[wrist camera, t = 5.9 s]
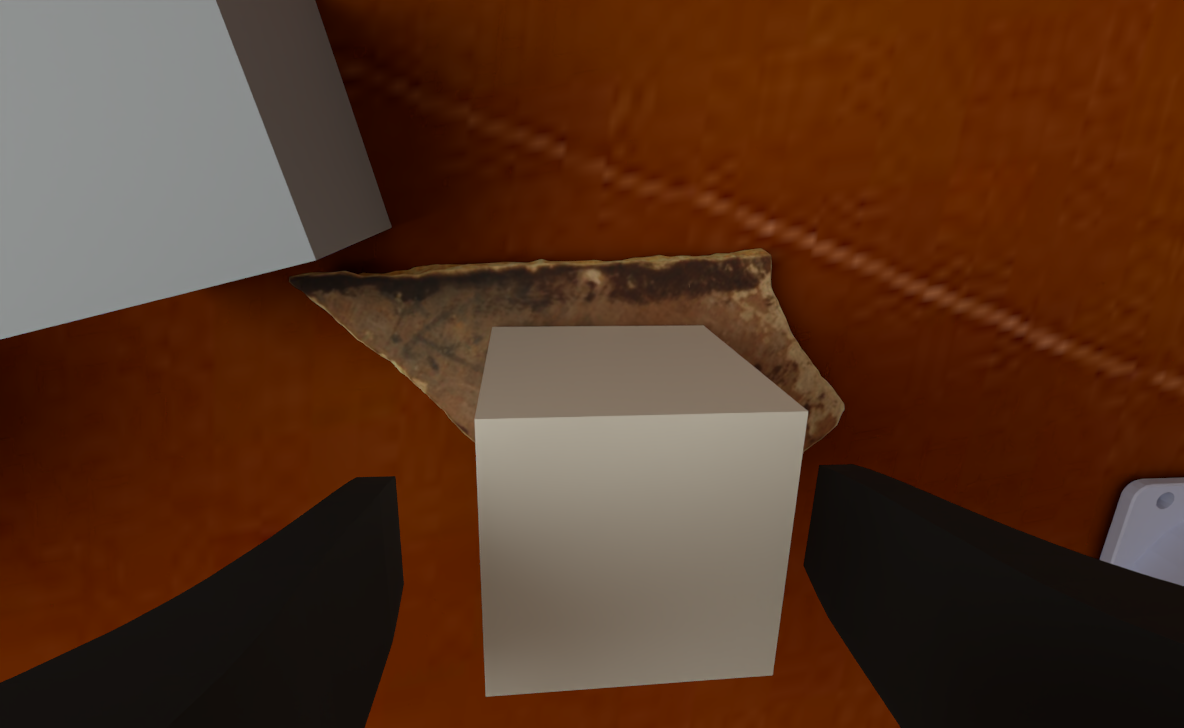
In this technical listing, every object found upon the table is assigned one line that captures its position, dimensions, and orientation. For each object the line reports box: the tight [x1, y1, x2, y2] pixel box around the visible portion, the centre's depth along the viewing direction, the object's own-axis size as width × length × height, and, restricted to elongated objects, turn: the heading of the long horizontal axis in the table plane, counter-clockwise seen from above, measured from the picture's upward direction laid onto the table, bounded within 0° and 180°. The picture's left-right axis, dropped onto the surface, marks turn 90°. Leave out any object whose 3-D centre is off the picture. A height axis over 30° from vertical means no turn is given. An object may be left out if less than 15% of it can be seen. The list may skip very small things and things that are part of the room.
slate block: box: [0, 0, 392, 339], centre depth 10 cm, size 4×4×5 cm
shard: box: [289, 248, 845, 452], centre depth 14 cm, size 11×8×2 cm
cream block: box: [474, 325, 808, 697], centre depth 11 cm, size 4×4×5 cm
